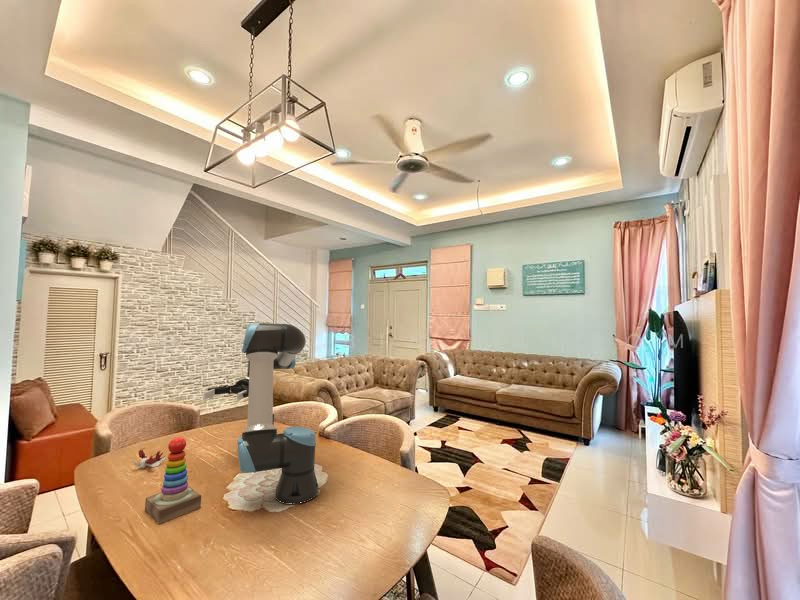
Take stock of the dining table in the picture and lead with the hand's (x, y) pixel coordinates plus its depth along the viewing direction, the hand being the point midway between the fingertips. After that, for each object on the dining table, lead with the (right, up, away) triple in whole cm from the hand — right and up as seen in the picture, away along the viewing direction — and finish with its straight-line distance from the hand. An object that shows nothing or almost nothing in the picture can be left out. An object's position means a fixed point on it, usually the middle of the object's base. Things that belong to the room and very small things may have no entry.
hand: (221, 396), depth 137 cm
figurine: (-33, -32, +6) cm, 46 cm away
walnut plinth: (-3, -31, -24) cm, 39 cm away
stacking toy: (-3, -26, -24) cm, 36 cm away
